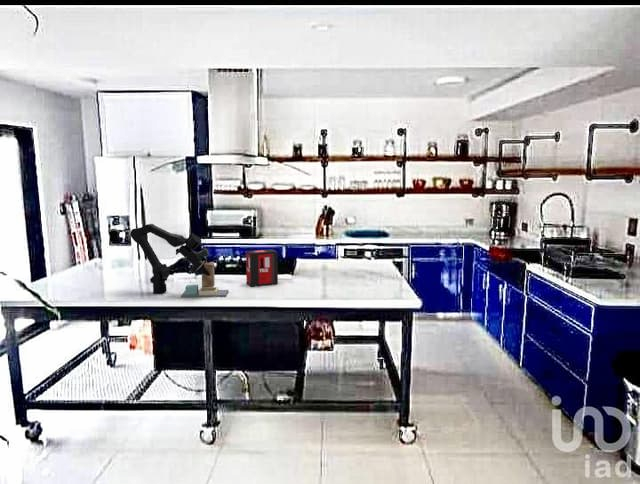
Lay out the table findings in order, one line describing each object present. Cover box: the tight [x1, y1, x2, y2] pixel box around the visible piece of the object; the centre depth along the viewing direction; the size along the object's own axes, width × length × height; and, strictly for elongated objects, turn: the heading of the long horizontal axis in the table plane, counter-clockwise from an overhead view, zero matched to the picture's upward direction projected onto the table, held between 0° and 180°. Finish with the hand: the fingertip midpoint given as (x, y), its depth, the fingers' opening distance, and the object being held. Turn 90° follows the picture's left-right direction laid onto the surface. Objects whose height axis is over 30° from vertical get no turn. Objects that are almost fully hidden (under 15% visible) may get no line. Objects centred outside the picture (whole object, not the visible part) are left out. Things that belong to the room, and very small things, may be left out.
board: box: [180, 284, 229, 299], centre depth 282 cm, size 24×12×5 cm, turn 95°
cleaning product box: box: [245, 249, 279, 288], centre depth 306 cm, size 16×9×20 cm, turn 115°
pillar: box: [201, 262, 215, 288], centre depth 281 cm, size 6×6×12 cm
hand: (210, 274), depth 281 cm, fingers closed on pillar, 6 cm apart
